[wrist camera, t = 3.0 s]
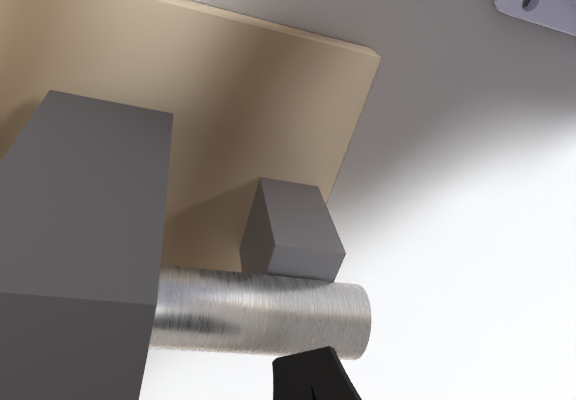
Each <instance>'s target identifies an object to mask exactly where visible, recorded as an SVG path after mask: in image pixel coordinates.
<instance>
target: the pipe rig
mask: <svg viewBox="0 0 576 400" xmlns="http://www.w3.org/2000/svg"><path fill="white" fill-rule="evenodd" d="M381 59H382V58H381V57H380V56H379V55H378V54H377V53H376V52H375V51H374V50H373V49H372V48H369V47H365V46H361V45H357V44H353V43H349V42H346V41H342V40H338V39H334V38H330V37H326V36H323V35H319V34H315V33H311V32H307V31H303V30H300V29H296V28H292V27H288V26H284V25H280V24H277V23H273V22H269V21H265V20H261V19H257V18H254V17H250V16H246V15H242V14H238V13H235V12H231V11H227V10H223V9H219V8H215V7H212V6H208V5H204V4H200V3H196V2H192V1H189V0H0V161H1V159H2V158H3V157H4V155H5V154H6V152H7V151H8V149H9V148H10V147H11V145H12V144H13V142H14V141H15V139H16V138H17V136H18V135H19V134H20V132H21V131H22V129H23V128H24V126H25V125H26V124H27V122H28V121H29V119H30V118H31V116H32V115H33V113H34V112H35V111H36V109H37V108H38V106H39V105H40V103H41V102H42V101H43V99H44V98H45V96H46V95H47V93H48V92H49V90H54V91H59V92H64V93H70V94H75V95H80V96H85V97H90V98H95V99H101V100H106V101H111V102H116V103H121V104H126V105H132V106H137V107H142V108H147V109H152V110H157V111H163V112H168V113H173V125H172V136H171V148H170V159H169V171H168V182H167V194H166V205H165V217H164V228H163V240H162V251H161V263H160V275H159V286H158V298H157V307H156V312H155V317H154V322H153V327H152V333H151V338H150V343H149V348H150V349H167V350H185V351H203V352H221V353H238V354H256V355H274V356H287V355H292V354H296V353H301V352H305V351H309V350H314V349H318V348H322V347H327V346H331V347H333V348H335V351H336V353H337V355H338V358H339V359H344V360H357V359H358V358H360V357H361V356H362V354H363V353H364V351H365V349H366V347H367V344H368V341H369V336H370V330H371V309H370V303H369V299H368V296H367V294H366V292H365V290H364V289H363V288H362V287H361V286H360V285H357V284H348V283H338V282H334V280H335V278H336V275H337V273H338V271H339V268H340V266H341V264H342V261H343V259H344V257H345V254H346V253H345V250H344V248H343V245H342V243H341V241H340V238H339V236H338V233H337V231H336V228H335V226H334V224H333V221H332V219H331V216H330V214H329V211H328V209H327V207H326V204H327V201H328V198H329V196H330V193H331V191H332V188H333V185H334V183H335V180H336V177H337V175H338V172H339V169H340V167H341V164H342V162H343V159H344V156H345V154H346V151H347V148H348V146H349V143H350V141H351V138H352V135H353V133H354V130H355V127H356V125H357V122H358V119H359V117H360V114H361V112H362V109H363V106H364V104H365V101H366V98H367V96H368V93H369V91H370V88H371V85H372V83H373V80H374V77H375V75H376V72H377V69H378V67H379V64H380V62H381Z"/></svg>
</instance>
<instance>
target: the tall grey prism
mask: <svg viewBox="0 0 576 400" xmlns="http://www.w3.org/2000/svg"><path fill="white" fill-rule="evenodd" d="M172 125H173V113H168V112H163V111H157V110H152V109H147V108H142V107H137V106H132V105H126V104H121V103H116V102H111V101H106V100H101V99H95V98H90V97H85V96H80V95H75V94H70V93H64V92H59V91H54V90H49V92H48V93H47V95H46V96H45V98H44V99H43V101H42V102H41V103H40V105H39V106H38V108H37V109H36V111H35V112H34V113H33V115H32V116H31V118H30V119H29V121H28V122H27V124H26V125H25V126H24V128H23V129H22V131H21V132H20V134H19V135H18V136H17V138H16V139H15V141H14V142H13V144H12V145H11V147H10V148H9V149H8V151H7V152H6V154H5V155H4V157H3V158H2V159H1V161H0V400H139V395H140V390H141V384H142V379H143V374H144V369H145V364H146V358H147V353H148V348H149V343H150V338H151V333H152V327H153V322H154V317H155V312H156V307H157V298H158V286H159V275H160V263H161V251H162V240H163V228H164V217H165V205H166V194H167V182H168V171H169V159H170V148H171V136H172Z"/></svg>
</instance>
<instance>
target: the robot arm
mask: <svg viewBox="0 0 576 400" xmlns="http://www.w3.org/2000/svg"><path fill="white" fill-rule="evenodd" d="M494 2H495V6H496V8H497V10H499V11H500V12H502V13H504V14H506V15H509V16H512V17H516V18H519V19H522V20H525V21H529V22H532V23H535V24H538V25H541V26H545V27H548V28H551V29H554V30H558V31H561V32H564V33H567V34H570V35H574V36H576V0H531V1H530V3H529V4H528V6H526V7H525V8H522V3H523V0H494ZM272 366H273V400H362V399H361V398H360V396H359V394H358V393H357V391H356V389H355V388H354V386H353V384H352V383H351V381H350V379H349V377H348V375H347V374H346V372H345V370H344V368H343V366H342V364H341V362H340V360H339V358H338V355H337V353H336V351H335V348H333V347H331V346H327V347H322V348H318V349H314V350H309V351H305V352H301V353H296V354H292V355H287V356H283V357H279V358H276V359H275V360H274V361H273V362H272Z"/></svg>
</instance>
